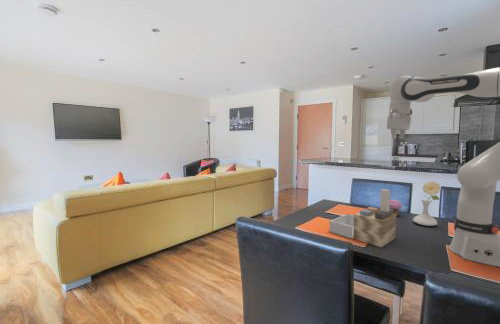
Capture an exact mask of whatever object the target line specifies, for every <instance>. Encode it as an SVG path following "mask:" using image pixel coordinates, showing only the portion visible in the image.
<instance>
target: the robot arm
mask: <svg viewBox="0 0 500 324" xmlns="http://www.w3.org/2000/svg"><path fill="white" fill-rule="evenodd" d="M389 90H390V92H389V97H390V102H389V110H388V115H387V120H386V129H387V130H390V134H391V139H392V140H397V138H398V139H399V140H404V139H405V134H406V131H409V130H410V127H411V121H412V115H413V110H412V109H411V108H412V107H411V103H412V102H417V103H424V102H428V101H430V100H431V99H432V98H433V97H434V96H435V95H438V94H446V93H447V94H448V93H457V94H458V93H459V94H464V95H467V96H468V95H469V96H471V97H476V98H497V97H498V98H500V66H499V67H498V66H497V67H492V68H489V69H488V68H487V69H484V70H483V69H481V70H479V71H474V72H470V73H465V74H460V75H452V76H444V77H436V78H427V77H426V78H425V77H422V76H416V75H415V76H410V75H408V74H406V75H399V76H397V77H395V78H394V79H393V80H392V82H391V84H390V89H389ZM397 130H398V131H399V135H397ZM456 175H457V176H456V178H457V181H458V182H459V184H461V185H460V190H459V194H458V198H457V207H456V217H454V223H453V228H454V233H453V237H452V240H451V243H450V245H449V247H448V248H449V250H450V251H451V252H452V253H454V254H456V255H458V256H460V257H461V258H462V259H464V260H467V261H471V262H477V263H480V264H484V265H489V266H493V267H497V266H498V267H499V268H500V234H499V233H498V232H499V231H500V230H499V225H498V224H494V223H493V222H492V221H493V212H494V203H495V202H494V201H495V197H496V190H497V183H498V181H500V141H499V142H497V143H496V144H495V145H493V146H491V147H489V148H487V149H486V150H485V151H483V152H481V153H480V154H479V155H477V156H475V157H474V158H472V159H470V160H469V161H467V162H466V163H464V164H463V165H462V166H460V168H458V171H457V174H456Z"/></svg>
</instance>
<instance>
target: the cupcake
mask: <svg viewBox="0 0 500 324" xmlns="http://www.w3.org/2000/svg"><path fill="white" fill-rule="evenodd" d="M389 208H391V209H393V213H394V214H396V217H398V216H399V211H400V209H401V208H402V203H401V202H400V200H398V199H390V205H389Z"/></svg>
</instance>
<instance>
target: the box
mask: <svg viewBox="0 0 500 324" xmlns="http://www.w3.org/2000/svg"><path fill="white" fill-rule="evenodd" d="M353 230H354V214H351V213H350V214H349V213H347V214H344V215H341V216H339V217H336V218H334V219H331V220H329V233H331V234H334V235H338V236H341V237H344V238H347V239H350V240H352V239H353Z"/></svg>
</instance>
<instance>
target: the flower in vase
mask: <svg viewBox="0 0 500 324" xmlns="http://www.w3.org/2000/svg"><path fill="white" fill-rule="evenodd" d="M441 189H442V188H441V184H439V183H438V182H436V181H434V180H433V181H428V182H425V183H424V184H423V185H422V191H423V193H425V194H423V193H421V195H422V196H423V197H426V198H427V199H426V198H425V199H424V198H422V199H420V201H421V203H422V206H423V209H422V212H421V213H420V214H418V215H415V216H414V217H412V221H413V222H414V223H415V224H418V225H421V226H426V227H428V226H429V227H433V226H436V225H438V222H437V220H436V219H435V218H434V217H433V216H432V215H430V214H429V207H430V204H431V203H432V201H439V200H440V197H439V196H437V194H439V192H440V191H441ZM426 194H427V195H429V197H428V196H427V195H426ZM431 199H432V200H431Z"/></svg>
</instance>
